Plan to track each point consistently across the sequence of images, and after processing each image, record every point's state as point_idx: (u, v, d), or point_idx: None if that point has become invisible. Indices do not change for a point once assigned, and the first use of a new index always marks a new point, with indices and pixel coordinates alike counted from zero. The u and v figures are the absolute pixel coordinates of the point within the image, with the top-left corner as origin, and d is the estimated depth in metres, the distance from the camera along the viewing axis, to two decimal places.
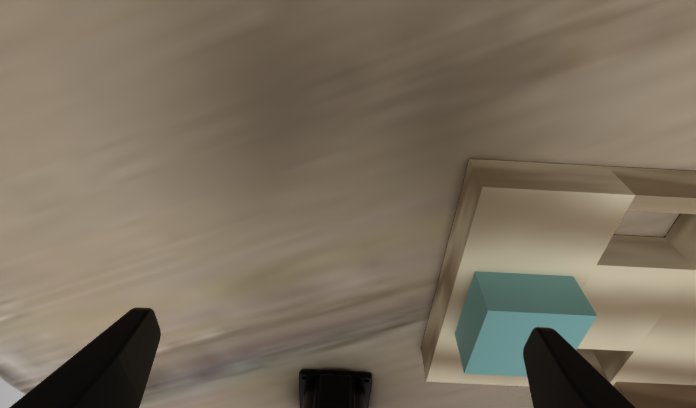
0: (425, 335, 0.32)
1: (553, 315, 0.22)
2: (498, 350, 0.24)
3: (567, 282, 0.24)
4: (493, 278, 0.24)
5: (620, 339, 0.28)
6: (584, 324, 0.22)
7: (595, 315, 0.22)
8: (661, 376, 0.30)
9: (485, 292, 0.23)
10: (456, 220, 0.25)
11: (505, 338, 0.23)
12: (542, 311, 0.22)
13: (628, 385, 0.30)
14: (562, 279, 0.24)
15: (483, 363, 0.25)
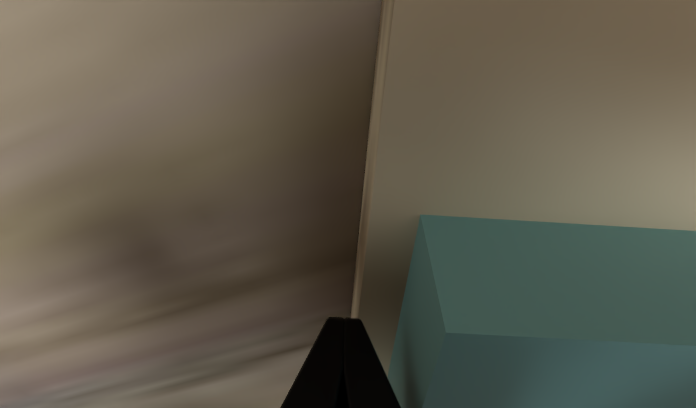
0: None
1: (679, 348, 0.06)
2: None
3: (688, 246, 0.08)
4: (472, 233, 0.08)
5: None
6: None
7: None
8: None
9: (443, 272, 0.07)
10: (374, 84, 0.09)
11: None
12: (640, 336, 0.06)
13: None
14: (670, 238, 0.08)
15: None
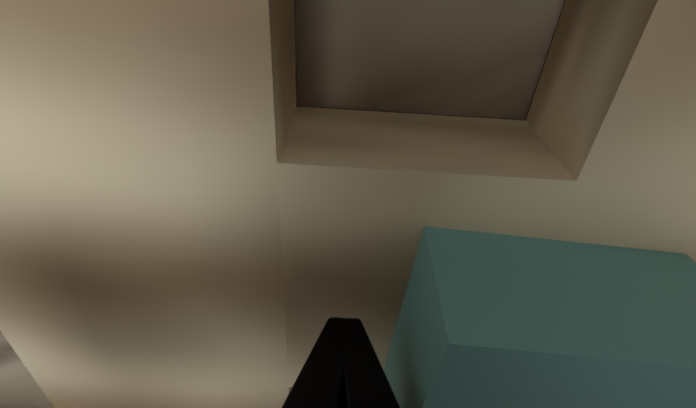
0: None
1: (667, 367, 0.07)
2: None
3: (677, 268, 0.09)
4: (474, 246, 0.08)
5: None
6: None
7: None
8: None
9: (446, 284, 0.07)
10: None
11: None
12: (631, 354, 0.07)
13: None
14: (661, 260, 0.09)
15: None
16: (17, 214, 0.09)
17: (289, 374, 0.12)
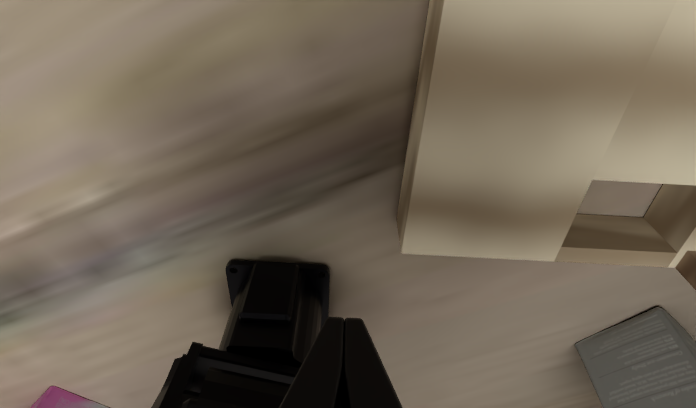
0: (401, 191, 0.22)
1: None
2: None
3: None
4: None
5: None
6: None
7: None
8: None
9: None
10: None
11: None
12: None
13: None
14: None
15: None
16: (502, 21, 0.14)
17: (599, 166, 0.18)
